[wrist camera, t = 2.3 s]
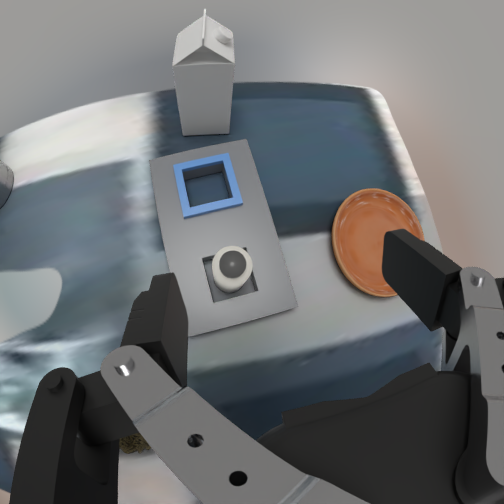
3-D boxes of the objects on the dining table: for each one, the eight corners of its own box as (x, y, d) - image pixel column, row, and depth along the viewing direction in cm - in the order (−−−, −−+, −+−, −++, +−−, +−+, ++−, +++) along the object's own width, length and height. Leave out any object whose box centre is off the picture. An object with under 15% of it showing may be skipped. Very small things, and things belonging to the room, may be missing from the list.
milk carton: (182, 137, 42) (168, 40, 23) (184, 103, 43) (175, 10, 25) (229, 134, 42) (237, 37, 24) (227, 101, 44) (235, 8, 25)
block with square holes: (188, 335, 36) (185, 337, 32) (152, 168, 40) (148, 157, 37) (293, 307, 38) (299, 306, 35) (244, 148, 42) (246, 135, 39)
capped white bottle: (218, 296, 37) (217, 289, 28) (210, 266, 38) (207, 249, 28) (248, 288, 38) (258, 278, 28) (240, 258, 39) (247, 239, 29)
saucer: (370, 320, 39) (380, 320, 36) (304, 231, 41) (310, 225, 38) (429, 255, 42) (440, 252, 39) (373, 178, 44) (382, 170, 41)
